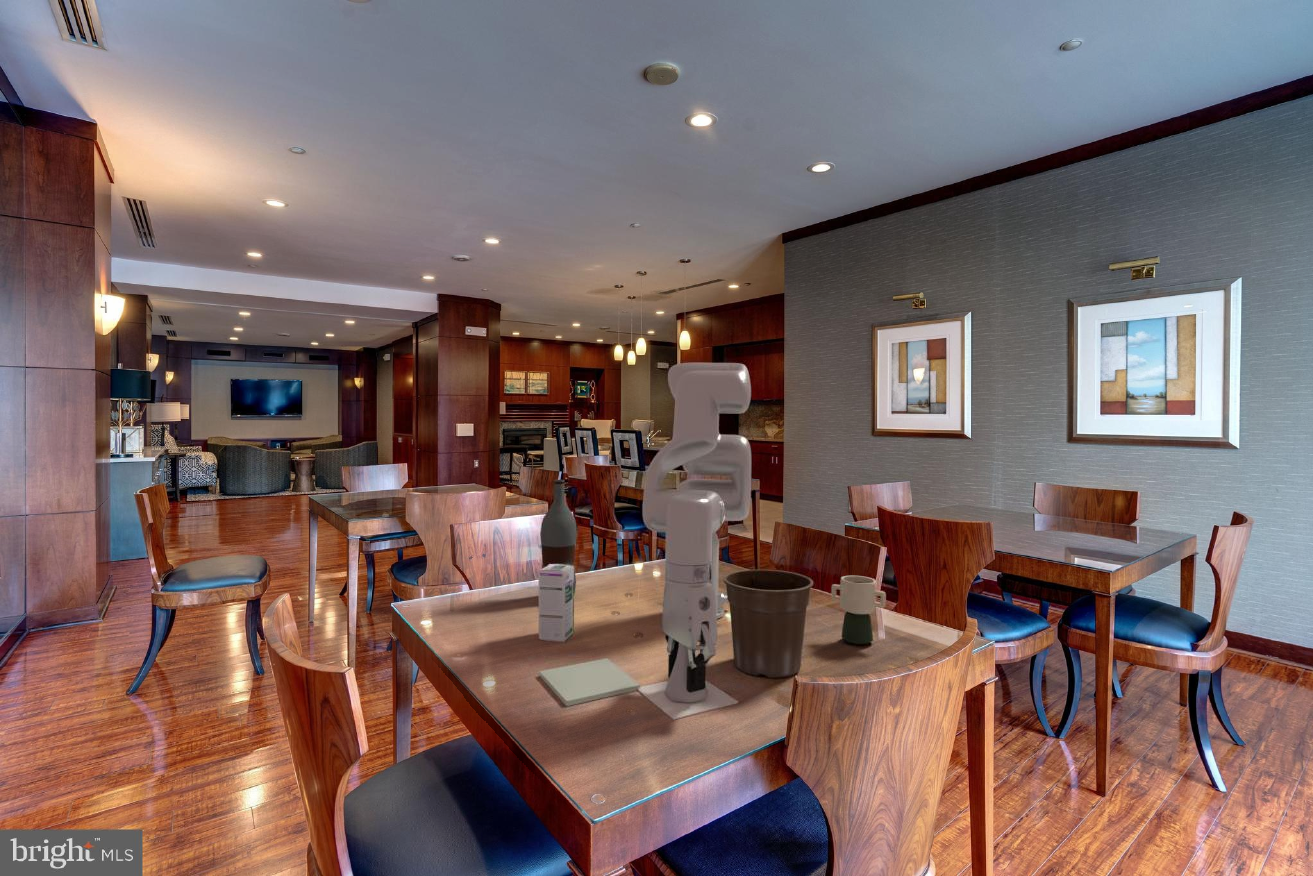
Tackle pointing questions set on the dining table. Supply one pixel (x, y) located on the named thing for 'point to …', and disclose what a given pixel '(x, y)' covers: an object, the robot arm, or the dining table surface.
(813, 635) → the dining table surface
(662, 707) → the white flat square
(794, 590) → the plant pot
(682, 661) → the flask
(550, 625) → the syrup box
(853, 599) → the character mug
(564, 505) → the bottle
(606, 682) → the coaster
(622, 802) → the dining table surface
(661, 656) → the dining table surface
